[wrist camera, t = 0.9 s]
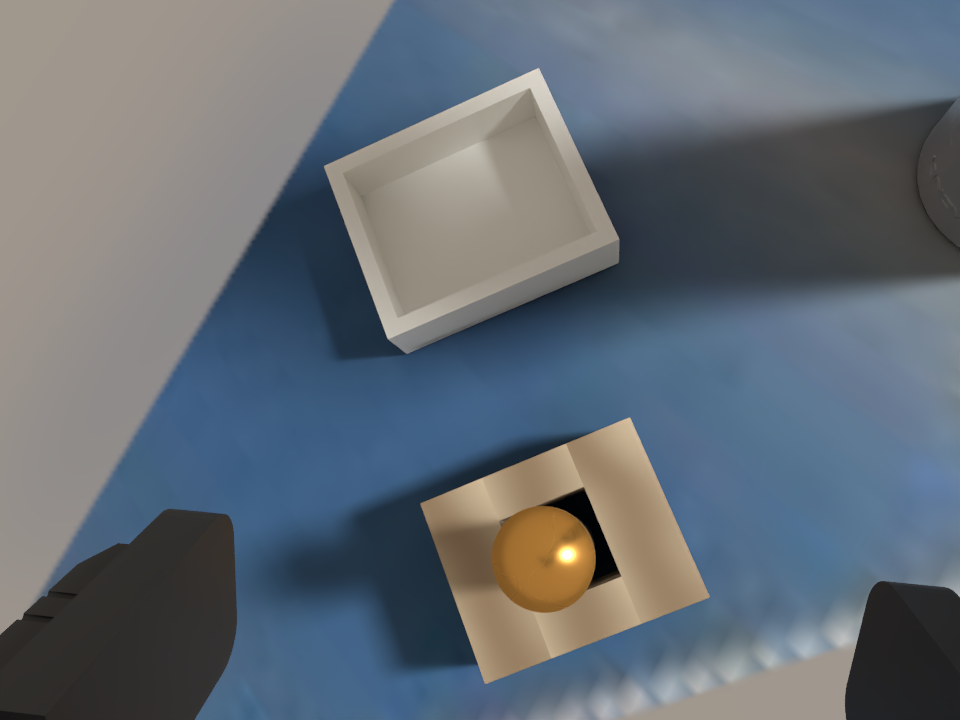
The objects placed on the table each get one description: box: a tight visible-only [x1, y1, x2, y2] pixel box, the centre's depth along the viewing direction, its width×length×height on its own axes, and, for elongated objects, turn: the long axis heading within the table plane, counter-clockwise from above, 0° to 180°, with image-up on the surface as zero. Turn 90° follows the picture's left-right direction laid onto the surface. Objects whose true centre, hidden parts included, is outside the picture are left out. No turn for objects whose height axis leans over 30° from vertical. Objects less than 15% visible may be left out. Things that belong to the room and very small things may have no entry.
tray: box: [324, 68, 619, 354], centre depth 39 cm, size 12×10×4 cm
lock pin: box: [492, 506, 596, 613], centre depth 31 cm, size 3×3×12 cm
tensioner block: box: [420, 417, 710, 684], centre depth 34 cm, size 10×8×4 cm
